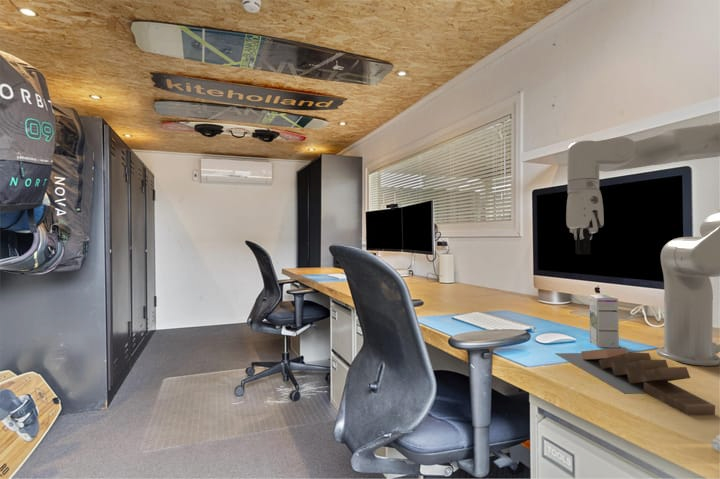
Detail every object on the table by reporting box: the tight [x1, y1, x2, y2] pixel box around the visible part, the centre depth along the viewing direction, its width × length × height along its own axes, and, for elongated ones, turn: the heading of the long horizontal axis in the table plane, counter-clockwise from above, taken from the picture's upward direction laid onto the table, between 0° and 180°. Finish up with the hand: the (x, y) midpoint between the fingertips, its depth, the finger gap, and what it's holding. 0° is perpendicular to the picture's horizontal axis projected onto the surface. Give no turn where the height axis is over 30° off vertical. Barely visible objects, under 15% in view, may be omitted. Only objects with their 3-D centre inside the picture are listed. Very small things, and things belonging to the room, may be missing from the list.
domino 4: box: [627, 366, 691, 384], centre depth 76 cm, size 2×5×10 cm
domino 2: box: [599, 352, 652, 369], centre depth 85 cm, size 2×5×10 cm
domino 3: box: [612, 359, 669, 376], centre depth 81 cm, size 2×5×10 cm
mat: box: [554, 352, 648, 395], centre depth 88 cm, size 12×26×1 cm, turn 1°
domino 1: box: [580, 348, 629, 360], centre depth 92 cm, size 2×5×10 cm
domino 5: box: [643, 381, 716, 416], centre depth 71 cm, size 2×5×10 cm
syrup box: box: [589, 294, 620, 349], centre depth 110 cm, size 6×6×14 cm
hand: (583, 254), depth 103 cm, fingers closed
